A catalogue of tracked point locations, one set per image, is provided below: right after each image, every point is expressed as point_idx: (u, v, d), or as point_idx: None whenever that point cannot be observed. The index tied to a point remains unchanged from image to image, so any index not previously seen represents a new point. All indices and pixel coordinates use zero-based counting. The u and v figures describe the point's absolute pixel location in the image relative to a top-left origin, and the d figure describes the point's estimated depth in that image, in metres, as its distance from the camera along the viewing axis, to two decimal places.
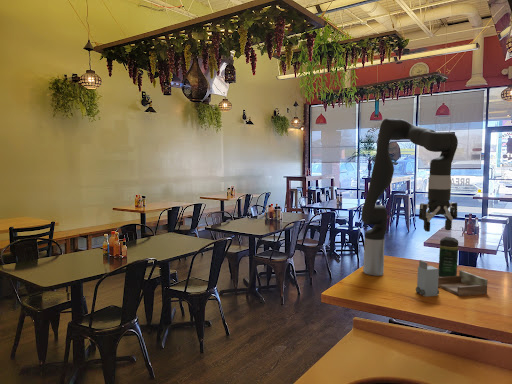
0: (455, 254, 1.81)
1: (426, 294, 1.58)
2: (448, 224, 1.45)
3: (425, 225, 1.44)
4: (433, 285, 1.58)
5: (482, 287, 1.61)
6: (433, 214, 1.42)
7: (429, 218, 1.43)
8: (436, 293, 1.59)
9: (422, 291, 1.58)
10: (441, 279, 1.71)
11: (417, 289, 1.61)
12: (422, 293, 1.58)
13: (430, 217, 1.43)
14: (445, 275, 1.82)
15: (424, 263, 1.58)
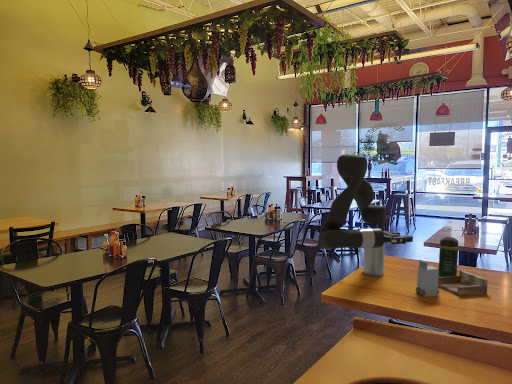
0: (455, 254, 1.81)
1: (426, 294, 1.58)
2: None
3: None
4: (433, 285, 1.58)
5: (482, 287, 1.61)
6: None
7: None
8: (436, 293, 1.59)
9: (422, 291, 1.58)
10: (441, 279, 1.71)
11: (417, 289, 1.61)
12: (422, 293, 1.58)
13: None
14: (445, 275, 1.82)
15: (424, 263, 1.58)
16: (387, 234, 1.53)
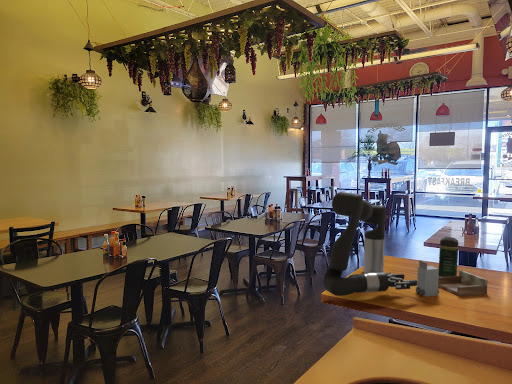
0: (455, 254, 1.81)
1: (426, 294, 1.58)
2: None
3: None
4: (433, 285, 1.58)
5: (482, 287, 1.61)
6: None
7: None
8: (436, 293, 1.59)
9: (422, 291, 1.58)
10: (441, 279, 1.71)
11: (417, 289, 1.61)
12: (422, 293, 1.58)
13: None
14: (445, 275, 1.82)
15: (424, 263, 1.58)
16: (391, 278, 1.55)
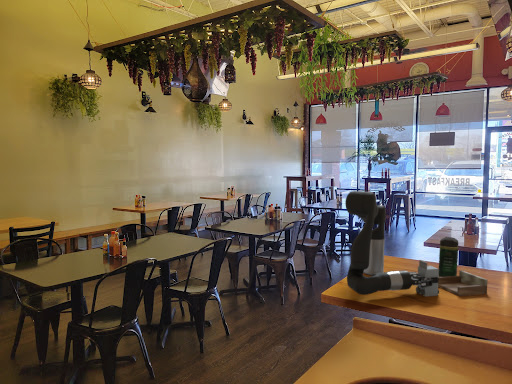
0: (455, 254, 1.81)
1: (426, 294, 1.58)
2: None
3: None
4: (433, 285, 1.58)
5: (482, 287, 1.61)
6: None
7: None
8: (436, 293, 1.59)
9: (422, 291, 1.58)
10: (441, 279, 1.71)
11: (417, 289, 1.61)
12: (422, 293, 1.58)
13: None
14: (445, 275, 1.82)
15: (424, 263, 1.58)
16: (414, 276, 1.57)
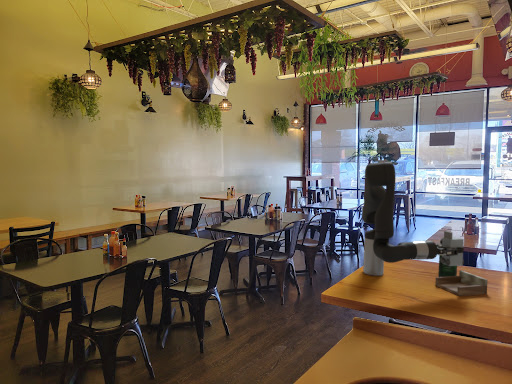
0: None
1: (451, 264, 1.61)
2: None
3: None
4: (458, 255, 1.61)
5: (482, 287, 1.61)
6: None
7: None
8: (461, 263, 1.62)
9: (447, 261, 1.61)
10: (441, 279, 1.71)
11: (442, 259, 1.64)
12: (447, 263, 1.61)
13: None
14: (445, 275, 1.82)
15: (449, 233, 1.61)
16: (440, 246, 1.60)
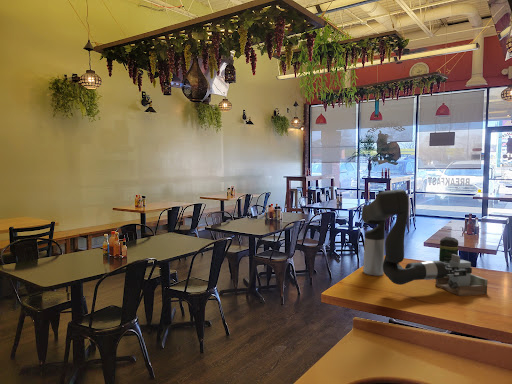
0: (455, 254, 1.81)
1: None
2: None
3: None
4: (465, 278, 1.64)
5: (482, 287, 1.61)
6: None
7: None
8: None
9: (455, 284, 1.64)
10: (441, 279, 1.71)
11: (449, 282, 1.67)
12: (455, 286, 1.64)
13: None
14: (445, 275, 1.82)
15: (457, 257, 1.64)
16: (448, 266, 1.62)
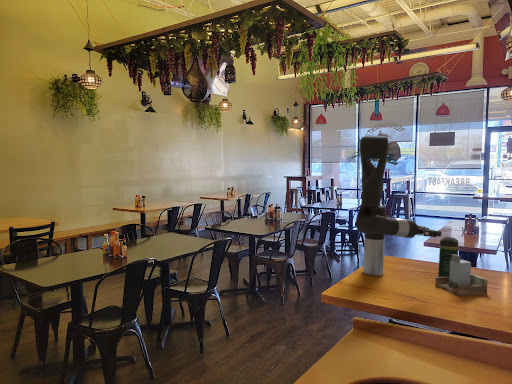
0: (455, 254, 1.81)
1: None
2: None
3: None
4: (465, 278, 1.64)
5: (482, 287, 1.61)
6: None
7: None
8: None
9: (455, 284, 1.64)
10: (441, 279, 1.71)
11: (449, 282, 1.67)
12: (455, 286, 1.64)
13: None
14: (445, 275, 1.82)
15: (457, 257, 1.64)
16: (419, 226, 1.60)
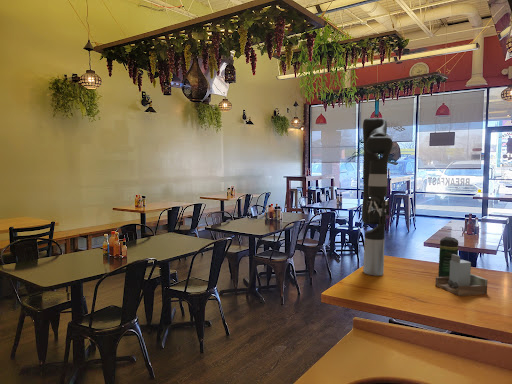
0: (455, 254, 1.81)
1: None
2: None
3: None
4: (465, 278, 1.64)
5: (482, 287, 1.61)
6: (369, 207, 1.67)
7: (369, 210, 1.68)
8: None
9: (455, 284, 1.64)
10: (441, 279, 1.71)
11: (449, 282, 1.67)
12: (455, 286, 1.64)
13: (369, 209, 1.67)
14: (445, 275, 1.82)
15: (457, 257, 1.64)
16: None
